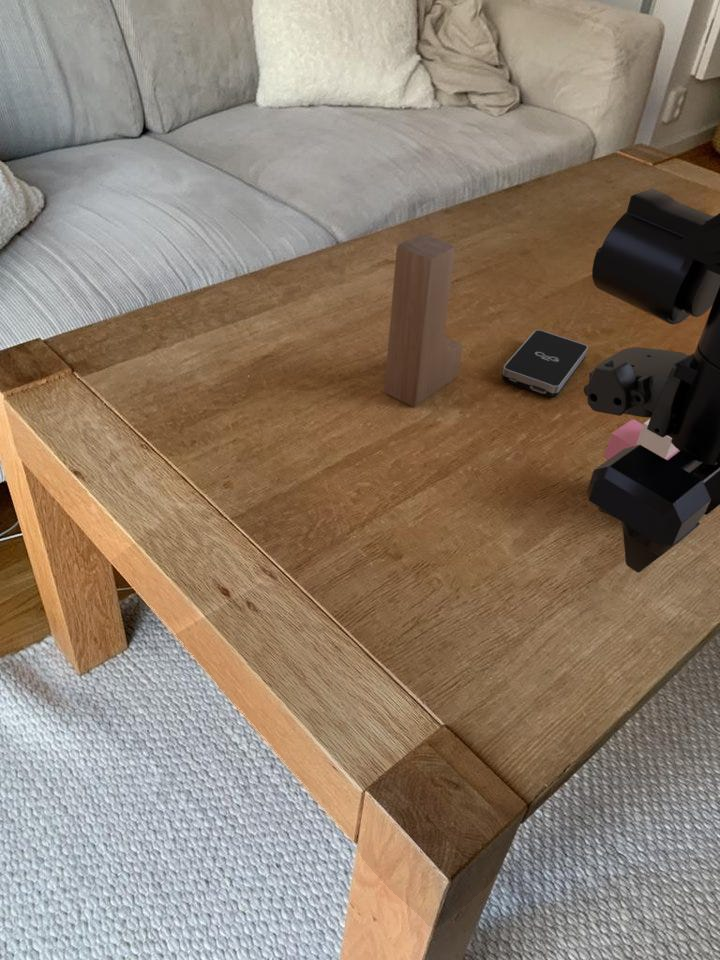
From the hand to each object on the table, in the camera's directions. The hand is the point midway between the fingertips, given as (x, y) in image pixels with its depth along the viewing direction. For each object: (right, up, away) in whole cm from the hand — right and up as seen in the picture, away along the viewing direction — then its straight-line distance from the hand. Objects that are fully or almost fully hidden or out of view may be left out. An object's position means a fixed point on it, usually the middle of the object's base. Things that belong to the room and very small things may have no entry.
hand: (668, 538), depth 60 cm
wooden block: (-15, +15, +36) cm, 42 cm away
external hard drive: (0, +17, +39) cm, 43 cm away
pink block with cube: (+5, +5, +18) cm, 19 cm away
